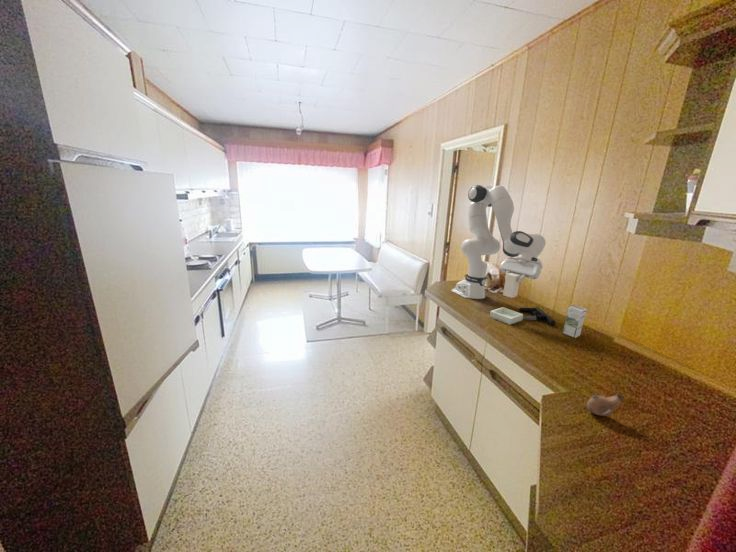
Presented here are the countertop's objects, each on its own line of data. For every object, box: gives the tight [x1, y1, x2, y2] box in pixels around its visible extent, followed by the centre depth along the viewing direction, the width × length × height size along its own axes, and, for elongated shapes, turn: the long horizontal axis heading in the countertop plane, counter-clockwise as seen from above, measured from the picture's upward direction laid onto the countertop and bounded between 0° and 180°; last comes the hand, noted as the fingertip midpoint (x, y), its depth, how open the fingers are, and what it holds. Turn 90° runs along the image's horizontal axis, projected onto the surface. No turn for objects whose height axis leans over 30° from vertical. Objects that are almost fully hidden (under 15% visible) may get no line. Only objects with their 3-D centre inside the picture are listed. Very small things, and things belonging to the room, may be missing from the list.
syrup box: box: [562, 304, 587, 339], centre depth 139 cm, size 6×6×14 cm
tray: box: [489, 306, 524, 326], centre depth 157 cm, size 12×12×4 cm
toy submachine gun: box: [519, 306, 557, 326], centre depth 160 cm, size 3×20×16 cm
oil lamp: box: [586, 393, 624, 417], centre depth 88 cm, size 9×4×8 cm, turn 81°
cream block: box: [502, 273, 522, 299], centre depth 152 cm, size 5×5×12 cm
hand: (511, 280), depth 151 cm, fingers closed on cream block, 5 cm apart
